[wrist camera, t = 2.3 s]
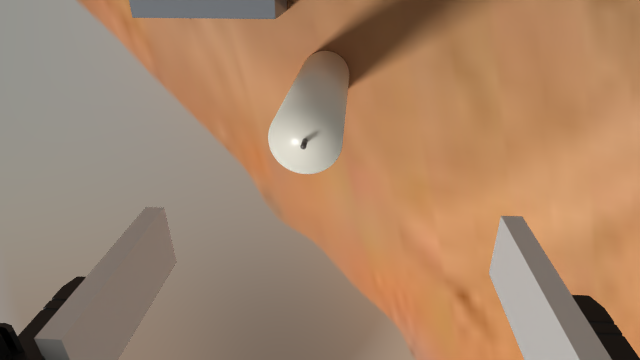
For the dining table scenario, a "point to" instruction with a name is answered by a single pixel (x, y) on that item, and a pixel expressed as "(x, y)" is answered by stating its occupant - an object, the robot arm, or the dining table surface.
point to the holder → (208, 9)
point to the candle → (312, 116)
